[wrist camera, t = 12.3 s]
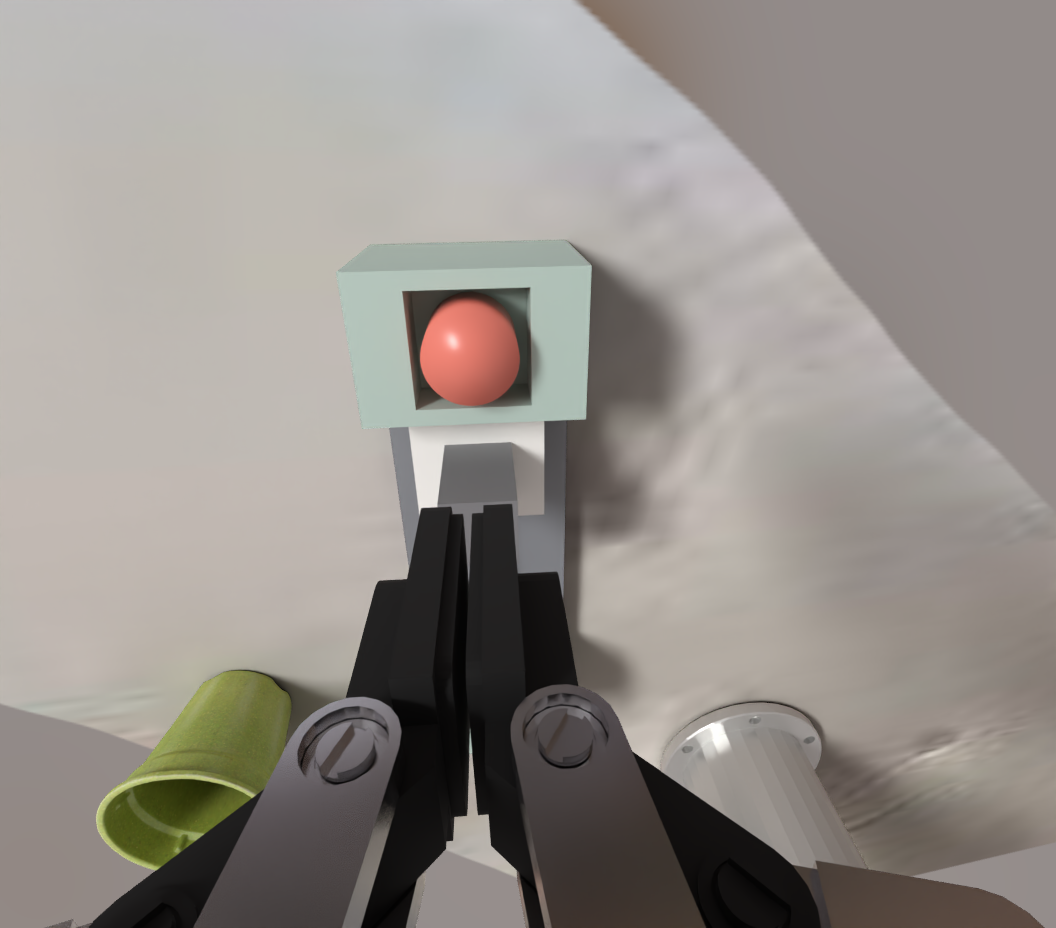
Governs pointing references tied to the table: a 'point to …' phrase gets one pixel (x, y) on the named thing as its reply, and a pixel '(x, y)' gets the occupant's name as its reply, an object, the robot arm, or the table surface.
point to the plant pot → (199, 769)
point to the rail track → (544, 347)
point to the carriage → (480, 469)
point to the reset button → (470, 349)
